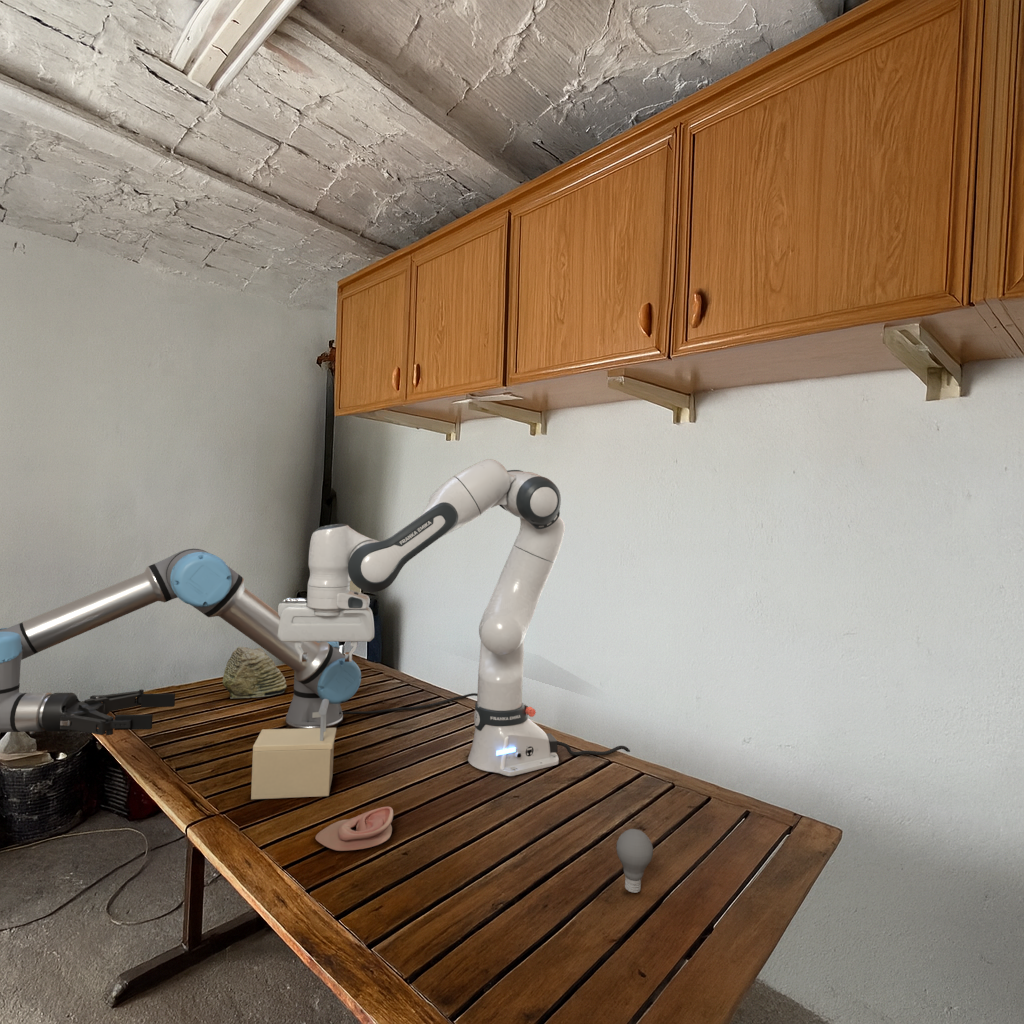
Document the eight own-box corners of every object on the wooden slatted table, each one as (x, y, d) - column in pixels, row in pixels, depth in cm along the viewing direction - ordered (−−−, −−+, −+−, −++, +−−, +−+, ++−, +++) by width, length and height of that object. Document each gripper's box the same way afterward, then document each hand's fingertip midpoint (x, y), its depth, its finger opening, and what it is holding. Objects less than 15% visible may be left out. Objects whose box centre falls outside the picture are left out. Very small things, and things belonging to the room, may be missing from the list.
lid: (336, 732, 144) (337, 696, 143) (332, 749, 134) (334, 710, 134) (261, 734, 140) (263, 697, 140) (252, 751, 131) (254, 711, 131)
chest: (332, 776, 144) (334, 732, 143) (328, 796, 134) (330, 749, 134) (260, 779, 141) (261, 734, 140) (250, 799, 131) (252, 751, 131)
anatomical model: (307, 824, 115) (337, 795, 126) (306, 846, 115) (336, 815, 126) (376, 835, 112) (400, 805, 123) (375, 857, 112) (399, 825, 123)
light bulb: (610, 879, 108) (613, 822, 108) (644, 879, 109) (647, 822, 109) (619, 902, 102) (622, 840, 102) (655, 901, 103) (658, 840, 103)
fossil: (218, 695, 195) (220, 647, 195) (278, 685, 208) (279, 640, 207) (228, 703, 189) (230, 653, 188) (289, 692, 201) (290, 645, 201)
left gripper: (78, 710, 140) (181, 708, 144) (12, 755, 116) (139, 751, 120) (79, 676, 140) (183, 675, 144) (14, 714, 116) (141, 712, 120)
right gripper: (275, 600, 133) (273, 665, 133) (375, 601, 137) (372, 664, 137) (280, 595, 139) (278, 658, 139) (375, 596, 143) (373, 657, 143)
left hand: (163, 710), depth 132 cm, fingers open, 13 cm apart
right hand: (326, 661), depth 138 cm, fingers open, 8 cm apart
